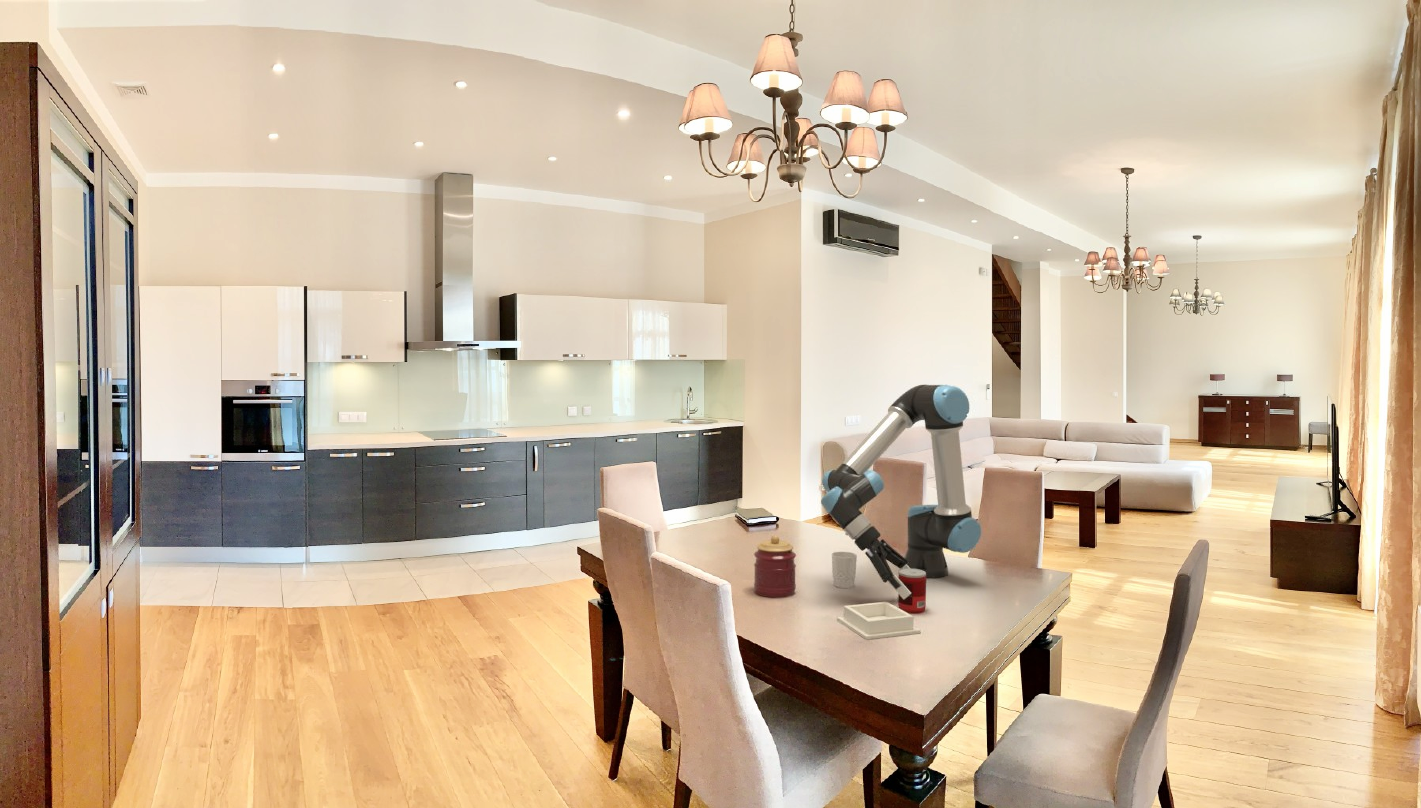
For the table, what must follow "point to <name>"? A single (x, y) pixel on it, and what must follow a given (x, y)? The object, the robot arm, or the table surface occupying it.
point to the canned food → (913, 590)
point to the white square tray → (878, 620)
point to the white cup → (844, 569)
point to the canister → (774, 568)
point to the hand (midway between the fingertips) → (913, 590)
